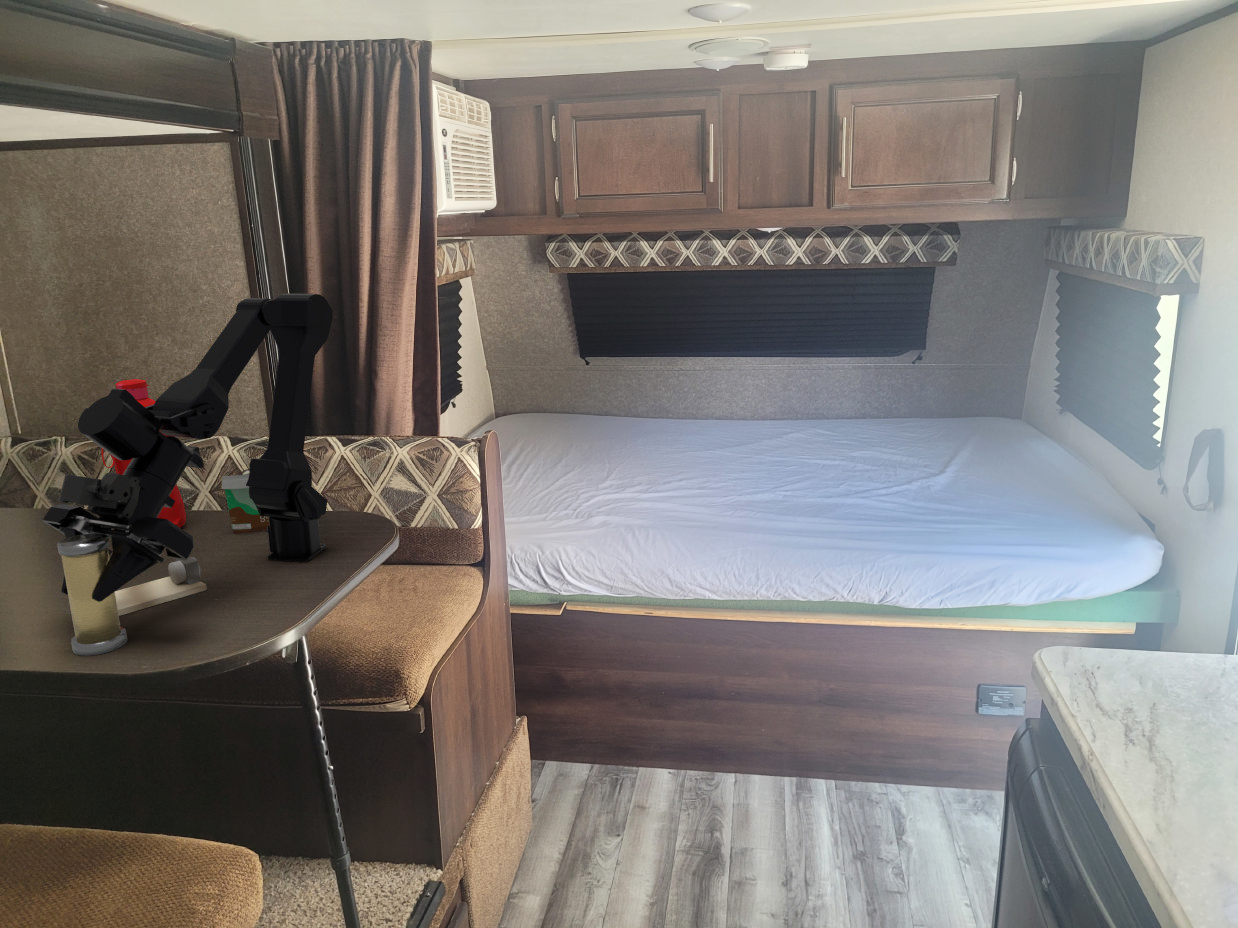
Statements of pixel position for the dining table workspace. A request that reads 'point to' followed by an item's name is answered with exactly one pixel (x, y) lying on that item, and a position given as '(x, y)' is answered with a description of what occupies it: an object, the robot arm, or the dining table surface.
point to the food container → (242, 505)
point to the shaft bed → (162, 587)
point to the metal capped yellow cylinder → (90, 595)
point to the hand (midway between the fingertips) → (80, 597)
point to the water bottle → (141, 395)
